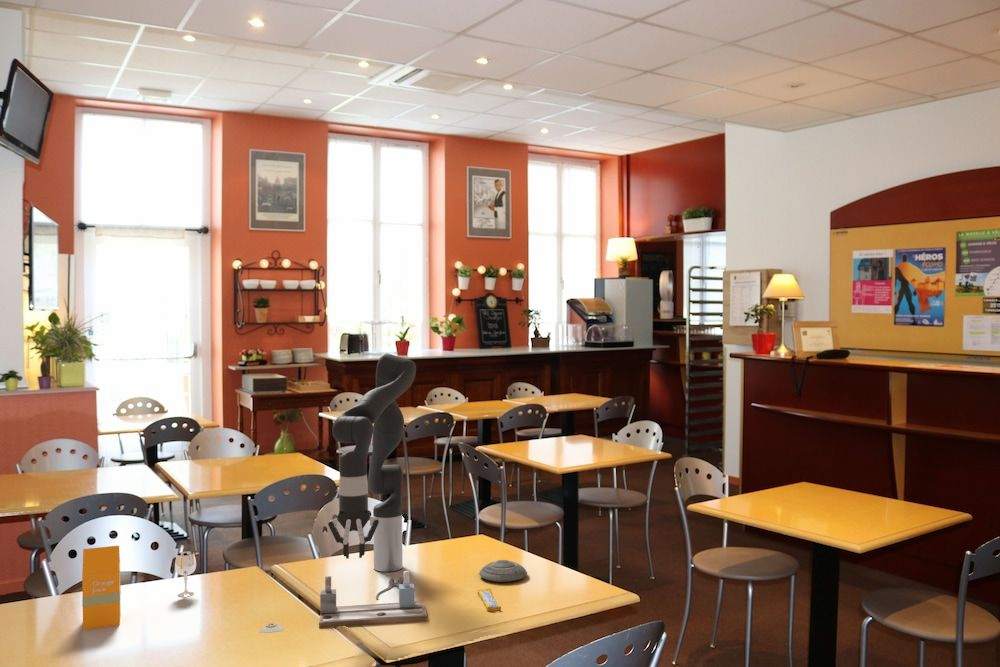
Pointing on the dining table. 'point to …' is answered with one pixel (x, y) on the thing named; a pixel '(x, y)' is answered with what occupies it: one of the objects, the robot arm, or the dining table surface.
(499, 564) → the flying saucer
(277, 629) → the mounting bracket
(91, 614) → the orange juice
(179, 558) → the wineglass
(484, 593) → the candy bar
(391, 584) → the pliers
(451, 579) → the dining table surface
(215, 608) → the dining table surface
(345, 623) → the board
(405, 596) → the pointer block
